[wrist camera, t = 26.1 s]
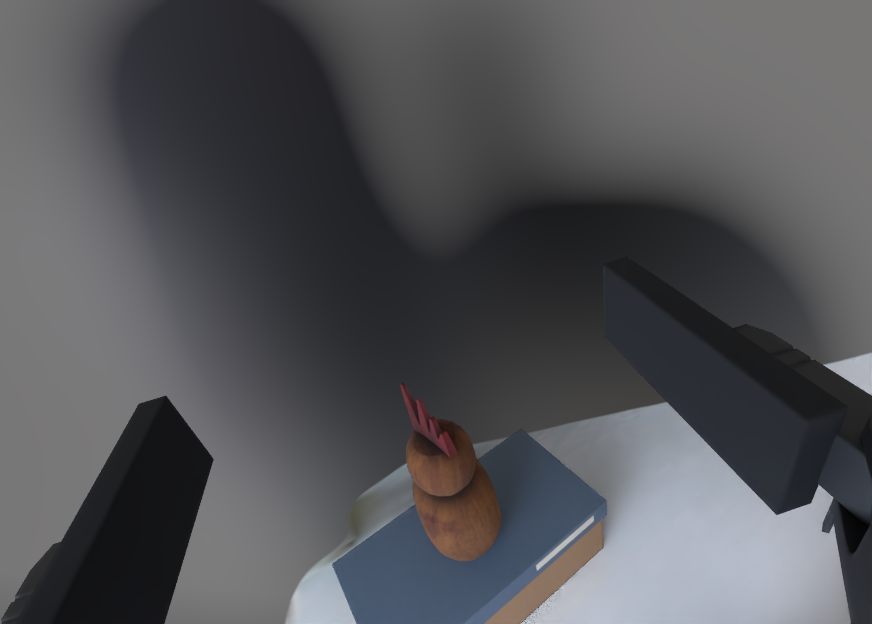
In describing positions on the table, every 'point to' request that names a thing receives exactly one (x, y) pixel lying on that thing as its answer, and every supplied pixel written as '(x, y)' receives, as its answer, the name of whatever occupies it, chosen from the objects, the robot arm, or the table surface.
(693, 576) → the table surface
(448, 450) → the wooden figurine
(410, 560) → the shoebox
